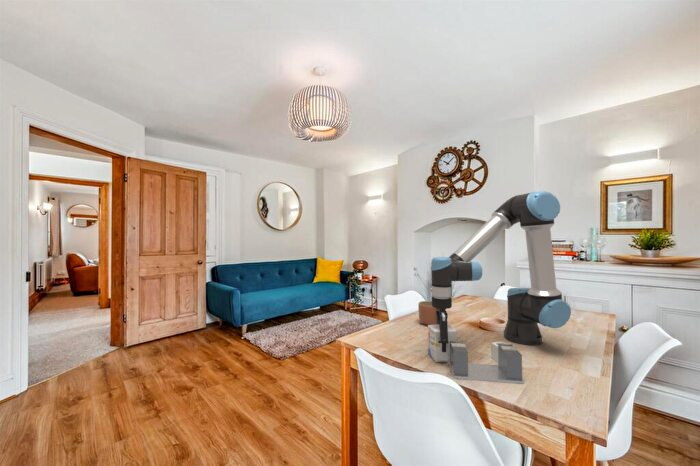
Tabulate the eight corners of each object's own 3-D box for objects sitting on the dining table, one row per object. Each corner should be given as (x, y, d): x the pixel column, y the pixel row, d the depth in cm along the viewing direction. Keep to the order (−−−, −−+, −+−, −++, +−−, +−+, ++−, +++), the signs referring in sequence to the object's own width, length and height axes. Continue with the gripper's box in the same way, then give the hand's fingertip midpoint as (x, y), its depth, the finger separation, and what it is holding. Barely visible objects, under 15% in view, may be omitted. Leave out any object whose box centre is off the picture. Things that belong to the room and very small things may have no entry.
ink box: (427, 353, 118) (427, 324, 118) (448, 352, 118) (447, 323, 118) (435, 362, 109) (435, 331, 109) (457, 361, 110) (457, 330, 110)
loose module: (502, 357, 113) (502, 340, 113) (515, 365, 107) (515, 347, 107) (491, 358, 113) (490, 341, 113) (503, 366, 106) (503, 348, 106)
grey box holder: (511, 368, 104) (511, 342, 104) (523, 383, 93) (523, 355, 93) (449, 363, 108) (449, 338, 108) (454, 378, 97) (454, 350, 97)
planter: (445, 327, 149) (445, 306, 149) (421, 327, 149) (421, 306, 149) (438, 320, 161) (438, 300, 161) (416, 320, 161) (416, 300, 161)
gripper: (429, 290, 125) (429, 342, 125) (434, 303, 103) (434, 366, 103) (447, 291, 124) (448, 344, 124) (456, 304, 102) (457, 367, 102)
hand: (442, 354), depth 114 cm, fingers closed on ink box, 10 cm apart
